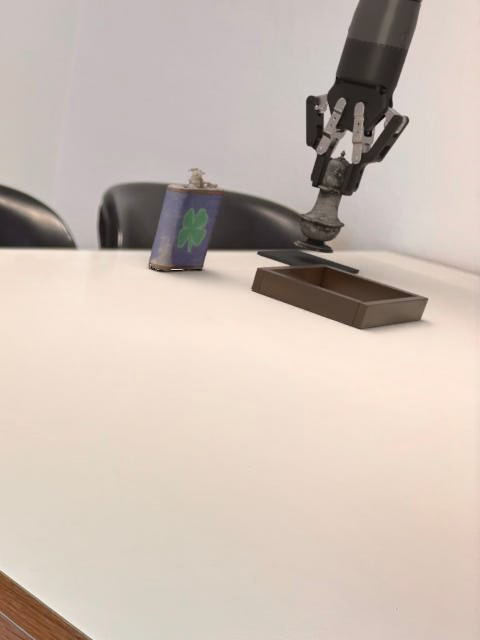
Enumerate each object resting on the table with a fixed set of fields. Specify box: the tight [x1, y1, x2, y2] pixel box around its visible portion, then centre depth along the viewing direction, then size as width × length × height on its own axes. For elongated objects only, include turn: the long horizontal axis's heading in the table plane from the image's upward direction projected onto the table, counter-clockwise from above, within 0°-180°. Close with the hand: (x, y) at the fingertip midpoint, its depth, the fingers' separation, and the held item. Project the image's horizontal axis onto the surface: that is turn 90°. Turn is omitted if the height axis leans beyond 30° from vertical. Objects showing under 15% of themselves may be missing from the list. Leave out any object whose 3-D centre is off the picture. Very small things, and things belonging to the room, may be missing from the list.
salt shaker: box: [293, 150, 350, 254], centre depth 138 cm, size 6×6×12 cm
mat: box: [256, 249, 360, 274], centre depth 142 cm, size 10×10×1 cm
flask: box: [147, 167, 225, 271], centre depth 121 cm, size 9×3×11 cm, turn 133°
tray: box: [250, 264, 429, 330], centre depth 121 cm, size 15×14×2 cm
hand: (331, 190), depth 138 cm, fingers closed on salt shaker, 3 cm apart
